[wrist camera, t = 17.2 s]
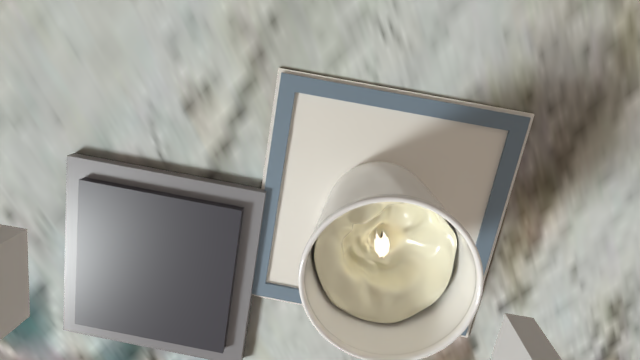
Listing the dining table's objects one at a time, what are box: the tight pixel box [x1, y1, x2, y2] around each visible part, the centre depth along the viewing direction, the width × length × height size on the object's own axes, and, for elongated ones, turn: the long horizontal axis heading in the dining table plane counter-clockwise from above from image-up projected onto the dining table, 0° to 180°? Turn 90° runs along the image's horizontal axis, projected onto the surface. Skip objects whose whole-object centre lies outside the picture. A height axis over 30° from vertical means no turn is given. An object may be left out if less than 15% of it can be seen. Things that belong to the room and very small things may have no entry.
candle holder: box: [298, 162, 484, 360], centre depth 29 cm, size 10×10×12 cm
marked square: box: [252, 68, 535, 338], centre depth 35 cm, size 19×19×1 cm
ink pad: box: [63, 153, 267, 360], centre depth 37 cm, size 16×16×2 cm
